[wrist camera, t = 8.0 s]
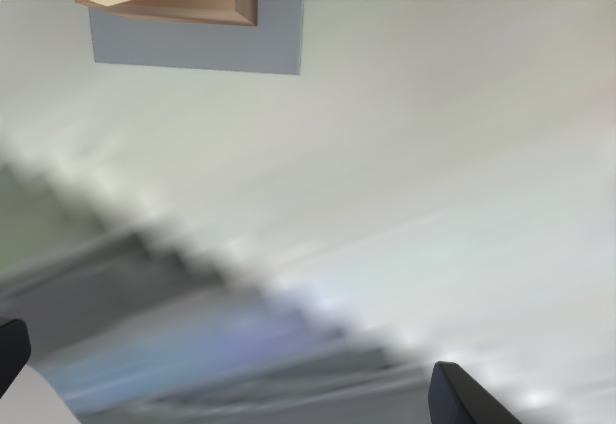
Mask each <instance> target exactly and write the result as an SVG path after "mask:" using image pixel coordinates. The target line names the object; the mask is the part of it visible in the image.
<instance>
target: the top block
mask: <svg viewBox="0 0 616 424" xmlns="http://www.w3.org/2000/svg"><path fill="white" fill-rule="evenodd" d="M90 1H93V2H96V3H99V4H102V5H105V6H111V5H115V4H118V3H122V2H126V1H130V0H90Z"/></svg>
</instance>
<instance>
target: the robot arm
mask: <svg viewBox="0 0 616 424" xmlns="http://www.w3.org/2000/svg"><path fill="white" fill-rule="evenodd" d="M30 355H31V344H30V339H29V334H28V330H27V325H26V322H25V321H24V320H23V319H21V318H16V317H0V399H1V397H2V396H3V394H4V393H5V392H6V390H7V389H8V388H9V386H10V385H11V383H12V382H13V381H14V379H15V378H16V377H17V375H18V374H19V372H20V371H21V370H22V368H23V367H24V365H25V364H26V363H27V361H28V360H29V357H30ZM428 403H429V410H430V416H431V423H432V424H523V423H522V422H520V421H519V420H518V419H517V418H516V417H515V416H514V415H513V414H512V413H511V412H510V411H508V410H507V409H506V408H505V407H504V406H503V405H502V404H501V403H500V402H499V401H497V400H496V399H495V398H494V397H493V396H492V395H491V394H490V393H489V392H488V391H487V390H485V389H484V388H483V387H482V386H481V385H480V384H479V383H478V382H477V381H476V380H475V379H473V378H472V377H471V376H470V375H469V374H468V373H467V372H466V371H465V370H464V369H463V368H461V367H460V366H459V365H458V364H456V363H453V362H444V361H438V362H436V363H435V365H434V368H433V373H432V378H431V383H430V388H429V393H428Z"/></svg>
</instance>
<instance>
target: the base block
mask: <svg viewBox="0 0 616 424" xmlns="http://www.w3.org/2000/svg"><path fill="white" fill-rule="evenodd" d="M75 2H76V3H79V4H82V5H86V6H89V7H92V8H95V9H99V10H102V11H105V12H108V13H111V14H115V15H118V16H121V17H124V18H128V19H131V20H148V21H166V22H184V23H202V24H219V25H237V26H255V27H257V21H258V0H130V1H126V2H122V3H118V4H115V5H111V6H105V5H102V4H99V3H96V2H93V1H90V0H75Z"/></svg>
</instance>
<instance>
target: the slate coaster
mask: <svg viewBox="0 0 616 424" xmlns="http://www.w3.org/2000/svg"><path fill="white" fill-rule="evenodd" d="M89 14H90V23H91V32H92V41H93V50H94V59H95V62H98V63H112V64H128V65H143V66H159V67H174V68H190V69H206V70H221V71H237V72H253V73H268V74H284V75H299V76H300V57H301V37H302V18H303V0H258V21H257V27H255V26H237V25H219V24H202V23H184V22H166V21H148V20H131V19H128V18H124V17H121V16H118V15H115V14H111V13H108V12H105V11H102V10H99V9H95V8H92V7H89Z"/></svg>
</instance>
